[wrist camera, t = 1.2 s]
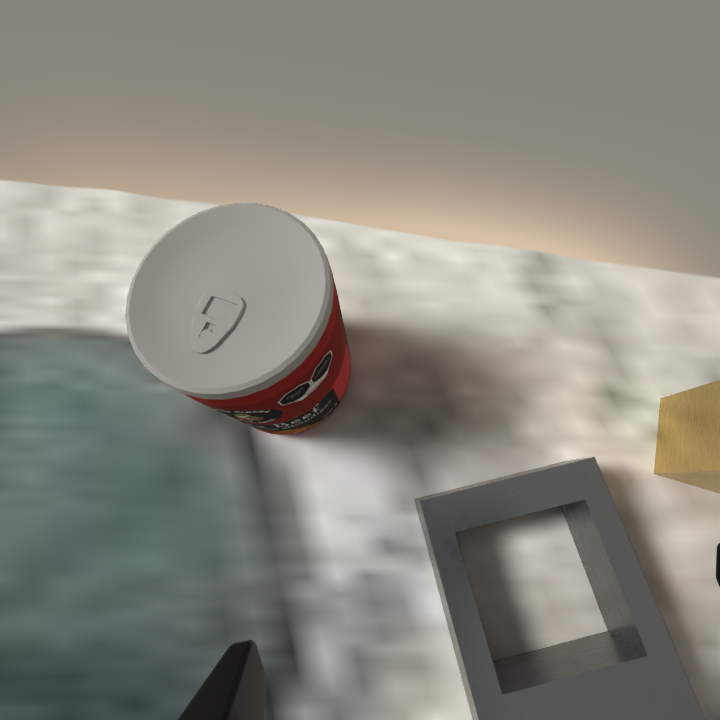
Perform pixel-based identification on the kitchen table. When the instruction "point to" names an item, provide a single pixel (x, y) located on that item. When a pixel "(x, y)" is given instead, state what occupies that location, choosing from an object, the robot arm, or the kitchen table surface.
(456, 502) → the grey cinder block
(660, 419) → the tan tall block
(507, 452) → the kitchen table surface
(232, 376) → the canned food
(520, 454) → the kitchen table surface
